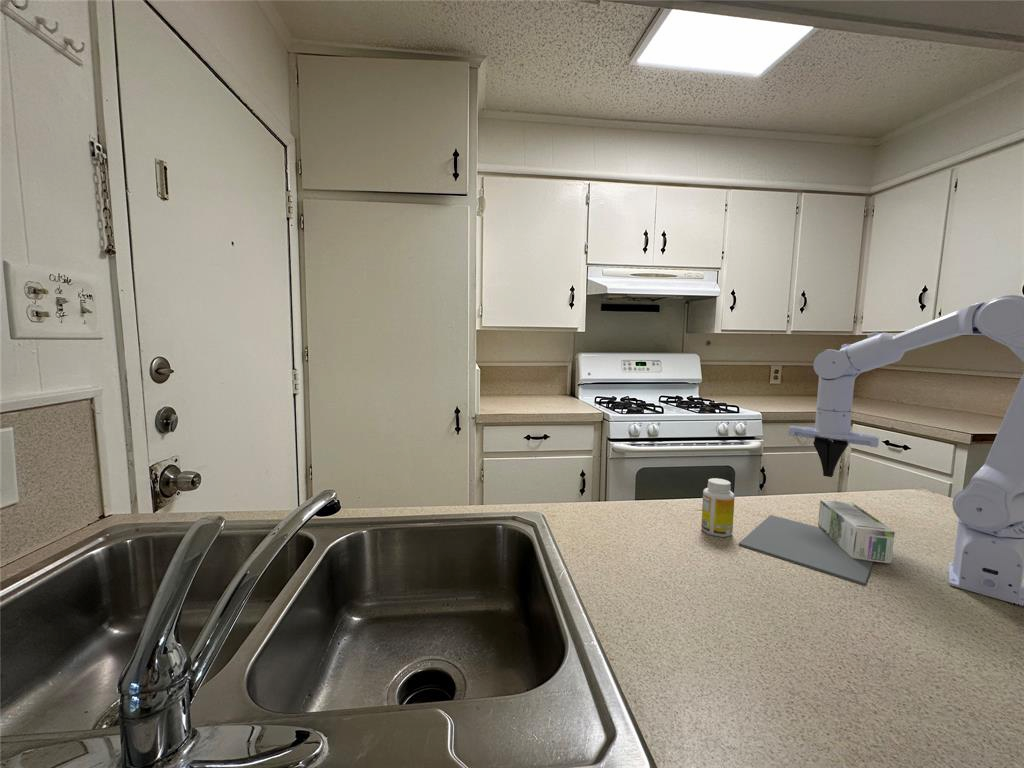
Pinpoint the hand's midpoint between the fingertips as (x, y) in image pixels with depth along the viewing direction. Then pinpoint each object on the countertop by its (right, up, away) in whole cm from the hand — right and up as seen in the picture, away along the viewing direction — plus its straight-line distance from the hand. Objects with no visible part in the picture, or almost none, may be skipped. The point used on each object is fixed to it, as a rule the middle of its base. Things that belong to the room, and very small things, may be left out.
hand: (828, 475), depth 87 cm
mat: (-10, -11, -9) cm, 17 cm away
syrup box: (0, -7, -2) cm, 8 cm away
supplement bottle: (-25, -11, -3) cm, 27 cm away
